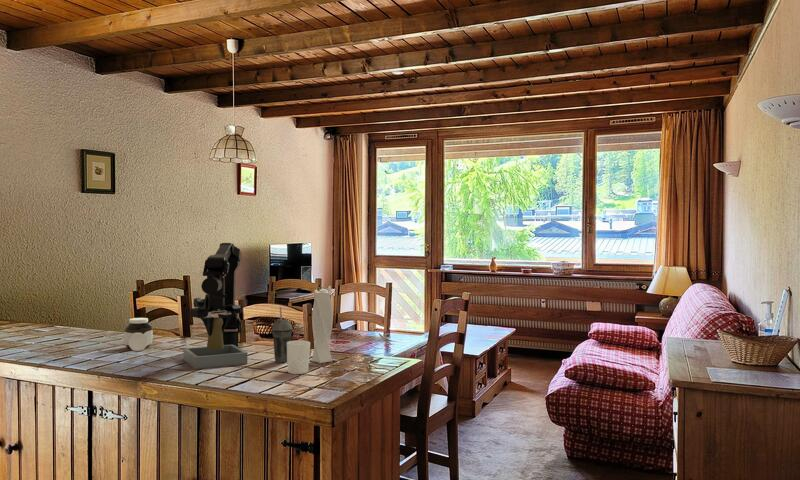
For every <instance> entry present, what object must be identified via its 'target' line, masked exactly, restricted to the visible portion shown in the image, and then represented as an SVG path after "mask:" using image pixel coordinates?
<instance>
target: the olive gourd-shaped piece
mask: <svg viewBox="0 0 800 480" xmlns="http://www.w3.org/2000/svg"><path fill="white" fill-rule="evenodd" d="M213 317H214V316H213ZM222 325H223V319H222V318H219V316H218V317H214V321H213V328H212V334H211V336H209V335H208V334H207V335H208V337H207V342H206V347H207V349H209V350H219V349H223V348H224V344H223V335H222Z"/></svg>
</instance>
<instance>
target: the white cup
mask: <svg viewBox="0 0 800 480" xmlns="http://www.w3.org/2000/svg"><path fill="white" fill-rule="evenodd" d="M310 350H311V341H309V340H300V339H298V340H290V341H289V342H287V362H286V363H287V372H288V374H290V375H291V374H292V375H303V374H308V372H309V363H310V361H309V360H310V354H311V353H310V352H311V351H310Z"/></svg>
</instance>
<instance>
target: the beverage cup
mask: <svg viewBox="0 0 800 480" xmlns="http://www.w3.org/2000/svg"><path fill="white" fill-rule="evenodd" d="M279 314H280V315H279V317H280V318H278V319H277V320H275V322H274V323H273V324H272V329H271V333H272V337H273V338H272V339H273V350H274V351H273V352H274V363H276V362H278V364H283V363H282V362H286V363H287V342H289V341H291V336H292V333H293V328H292V327H293V326H292V324H291V322H290V320H288V319H286V318H283V315H282V307H281V306H279Z"/></svg>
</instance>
